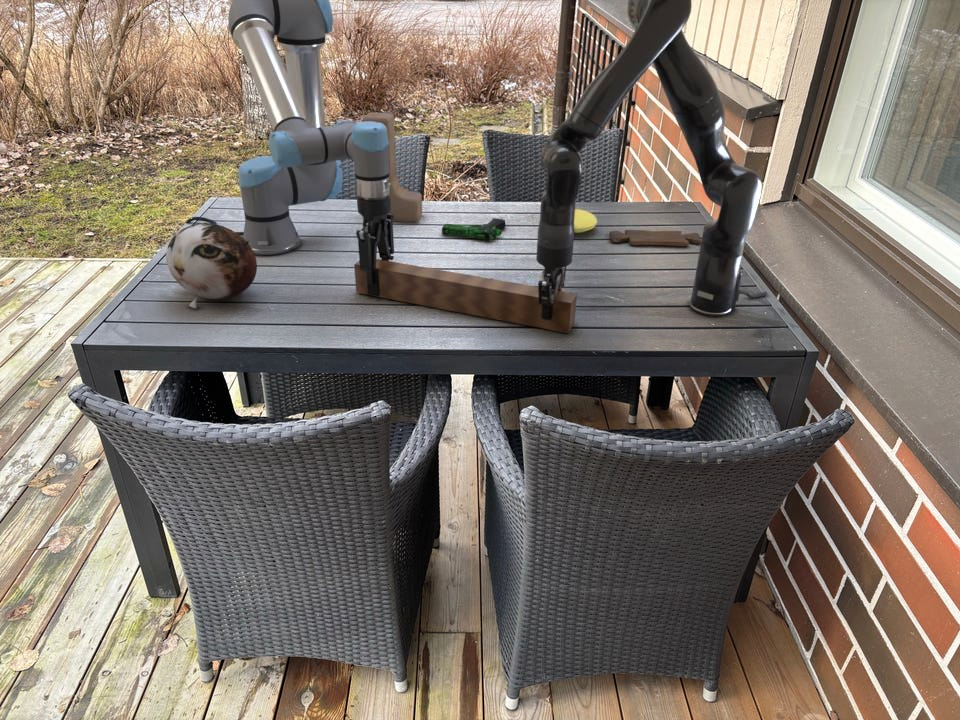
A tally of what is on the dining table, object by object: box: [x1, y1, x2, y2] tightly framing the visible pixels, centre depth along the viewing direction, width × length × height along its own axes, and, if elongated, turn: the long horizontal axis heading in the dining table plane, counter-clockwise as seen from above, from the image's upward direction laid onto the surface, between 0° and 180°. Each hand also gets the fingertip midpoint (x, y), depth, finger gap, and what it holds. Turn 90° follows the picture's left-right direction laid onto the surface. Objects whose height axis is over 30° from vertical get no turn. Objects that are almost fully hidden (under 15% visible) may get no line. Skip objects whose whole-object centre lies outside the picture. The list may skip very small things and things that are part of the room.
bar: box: [353, 258, 578, 334], centre depth 163 cm, size 52×5×7 cm, turn 69°
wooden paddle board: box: [608, 229, 701, 247], centre depth 204 cm, size 26×2×10 cm
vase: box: [574, 208, 598, 234], centre depth 209 cm, size 16×16×7 cm
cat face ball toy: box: [165, 222, 258, 309], centre depth 165 cm, size 22×18×20 cm
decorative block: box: [362, 111, 423, 223], centre depth 209 cm, size 8×15×30 cm, turn 82°
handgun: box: [441, 217, 506, 242], centre depth 207 cm, size 16×3×15 cm
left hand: (379, 289), depth 171 cm, fingers closed on bar, 5 cm apart
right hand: (550, 313), depth 157 cm, fingers closed on bar, 5 cm apart
